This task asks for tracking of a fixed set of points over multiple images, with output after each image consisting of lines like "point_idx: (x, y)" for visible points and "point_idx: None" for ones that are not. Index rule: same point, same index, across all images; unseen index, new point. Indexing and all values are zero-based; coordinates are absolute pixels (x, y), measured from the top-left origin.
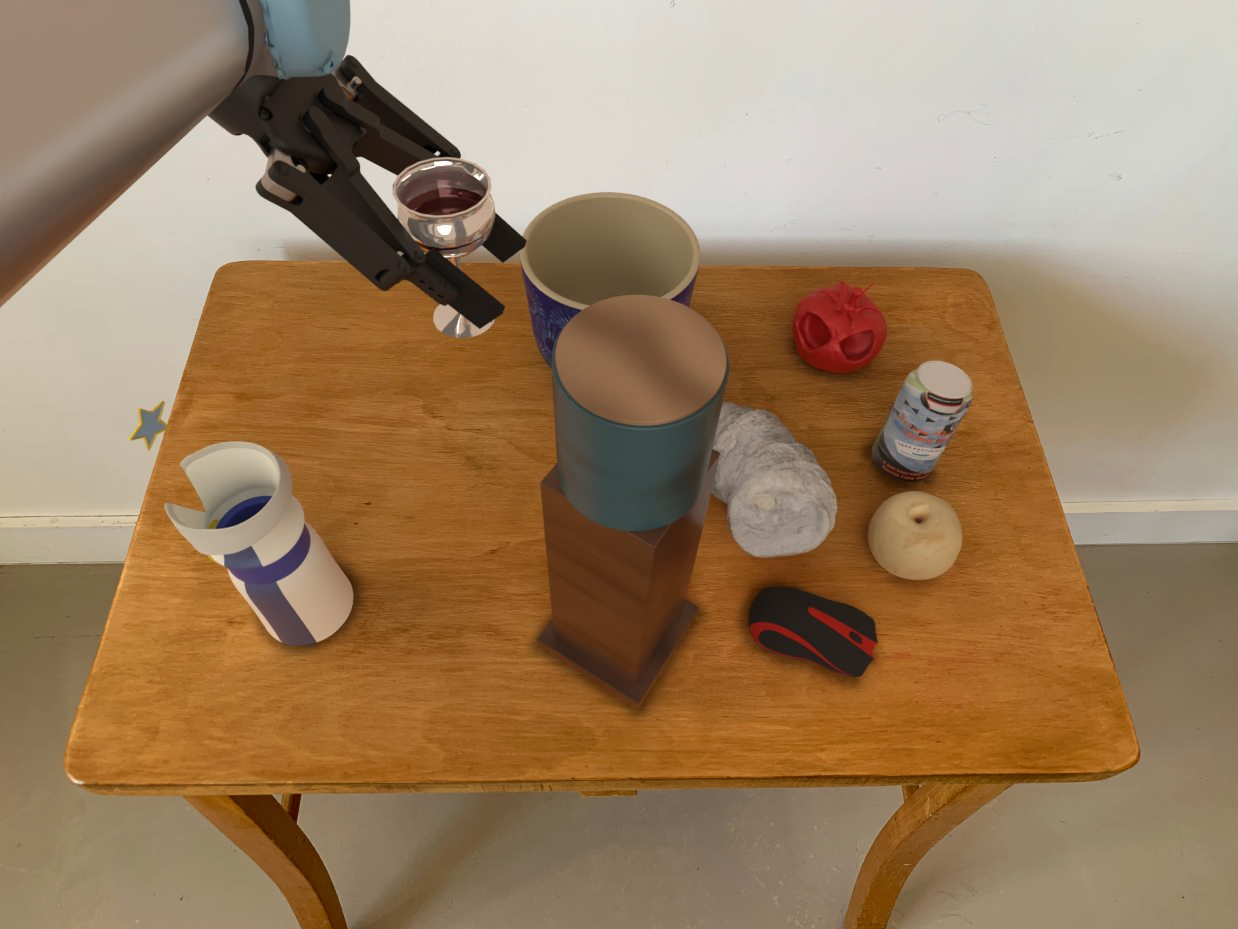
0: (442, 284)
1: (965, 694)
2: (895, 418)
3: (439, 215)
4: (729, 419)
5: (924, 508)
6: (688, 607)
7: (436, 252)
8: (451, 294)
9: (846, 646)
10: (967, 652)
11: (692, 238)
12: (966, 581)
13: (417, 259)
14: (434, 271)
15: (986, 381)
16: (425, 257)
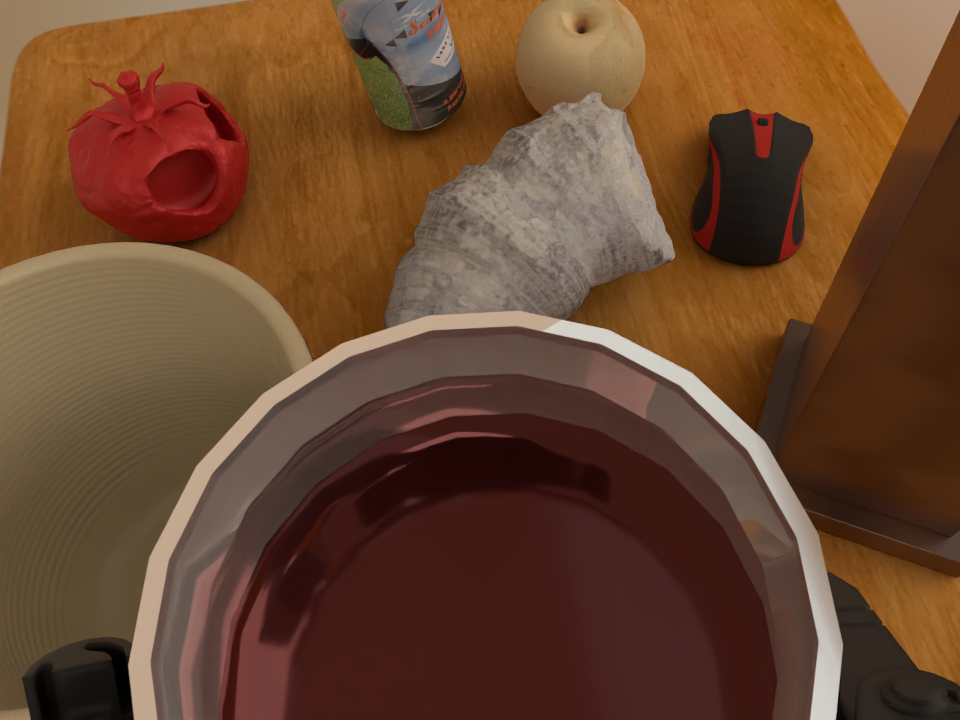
0: (855, 618)
1: (767, 42)
2: (406, 44)
3: (789, 517)
4: (475, 240)
5: (566, 17)
6: (795, 332)
7: None
8: (850, 586)
9: (783, 129)
10: (707, 40)
11: (32, 265)
12: None
13: (953, 691)
14: (842, 653)
15: (244, 22)
16: (878, 670)
